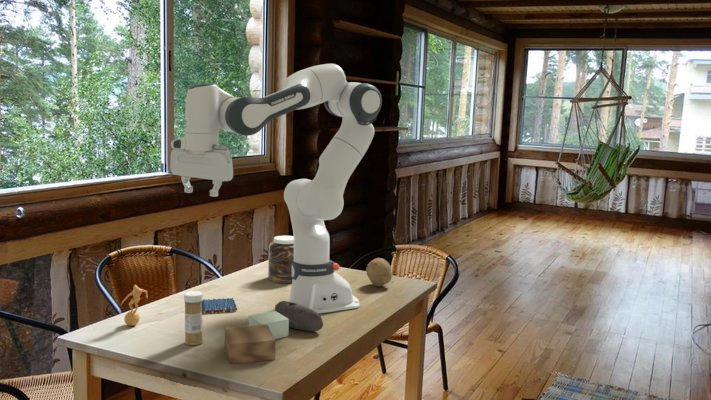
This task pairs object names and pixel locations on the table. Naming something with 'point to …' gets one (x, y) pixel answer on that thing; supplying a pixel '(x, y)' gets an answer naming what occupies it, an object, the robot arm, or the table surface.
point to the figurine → (133, 316)
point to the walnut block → (249, 344)
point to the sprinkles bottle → (193, 317)
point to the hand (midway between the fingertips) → (201, 194)
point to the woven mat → (218, 305)
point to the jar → (281, 259)
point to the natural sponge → (379, 272)
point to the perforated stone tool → (300, 316)
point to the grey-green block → (271, 323)
